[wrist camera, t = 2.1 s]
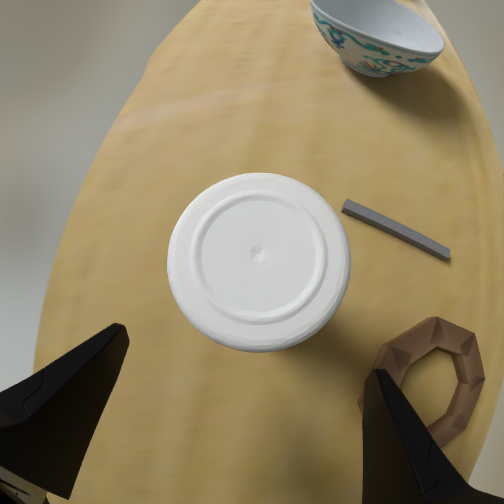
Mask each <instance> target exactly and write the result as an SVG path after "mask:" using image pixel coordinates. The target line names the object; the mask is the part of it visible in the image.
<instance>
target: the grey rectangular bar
mask: <svg viewBox="0 0 504 504" xmlns="http://www.w3.org/2000/svg"><path fill="white" fill-rule="evenodd" d="M341 212H343V213H346V214H348V215H350V216H352V217H355V218H357V219H359V220H362V221H364V222H366V223H368V224H370V225H373V226H375V227H377V228H379V229H381V230H383V231H386V232H388V233H390V234H392V235H394V236H396V237H398V238H400V239H402V240H404V241H406V242H408V243H410V244H412V245H414V246H416V247H418V248H420V249H422V250H424V251H426V252H428V253H430V254H432V255H434V256H436V257H438V258H440V259H442V260H446V259H448V258H449V255H450V249H448V248H447V247H445V246H443V245H441V244H439V243H437V242H436V241H434V240H432V239H430V238H428V237H426V236H424V235H422V234H420V233H418V232H416V231H415V230H413V229H411V228H409V227H407V226H405V225H403V224H401V223H398V222H396V221H394V220H392V219H390V218H388V217H386V216H384V215H382V214H380V213H377V212H375V211H373V210H371V209H369V208H367V207H364V206H362V205H360V204H358V203H355V202H353V201H351V200H349V199H346V201H345V202H344V205H343V208H342V211H341Z"/></svg>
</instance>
